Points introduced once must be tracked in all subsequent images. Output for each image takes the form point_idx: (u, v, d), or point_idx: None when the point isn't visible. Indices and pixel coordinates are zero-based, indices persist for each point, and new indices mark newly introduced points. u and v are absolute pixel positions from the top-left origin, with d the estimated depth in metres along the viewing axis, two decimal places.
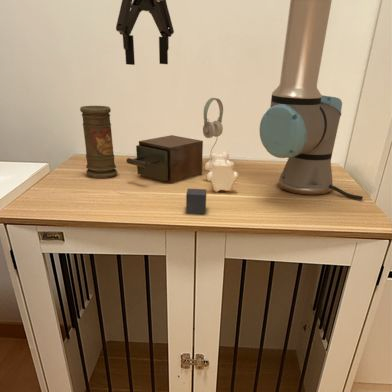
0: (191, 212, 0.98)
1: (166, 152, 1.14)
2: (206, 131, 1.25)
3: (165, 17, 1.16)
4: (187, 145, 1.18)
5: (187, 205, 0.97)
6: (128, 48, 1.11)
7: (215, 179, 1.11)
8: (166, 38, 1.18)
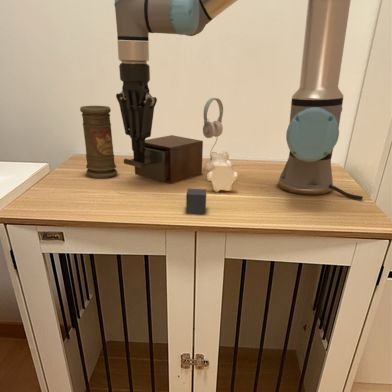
0: (191, 212, 0.98)
1: (163, 153, 1.13)
2: (206, 131, 1.25)
3: None
4: (187, 145, 1.18)
5: (187, 205, 0.97)
6: (133, 149, 1.14)
7: (215, 179, 1.11)
8: (135, 141, 1.11)
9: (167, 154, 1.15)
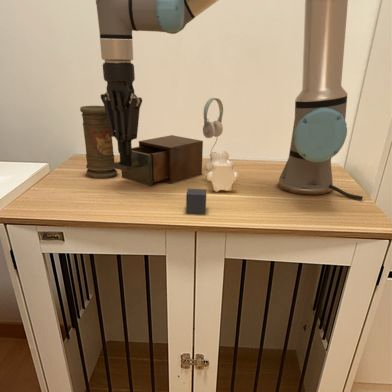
0: (191, 212, 0.98)
1: (150, 156, 1.10)
2: (206, 131, 1.25)
3: None
4: (187, 145, 1.18)
5: (187, 205, 0.97)
6: None
7: (215, 179, 1.11)
8: (121, 143, 1.07)
9: (154, 157, 1.12)
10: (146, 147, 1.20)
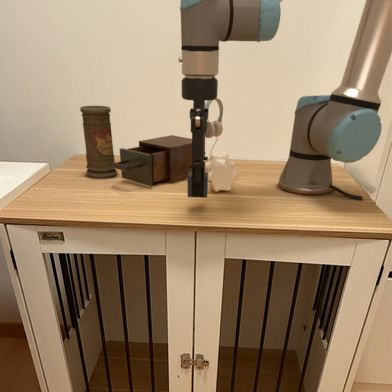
0: None
1: (150, 156, 1.10)
2: None
3: None
4: (187, 145, 1.18)
5: (188, 188, 0.95)
6: (200, 181, 0.93)
7: (215, 179, 1.11)
8: (204, 163, 0.96)
9: (154, 157, 1.12)
10: (146, 147, 1.20)
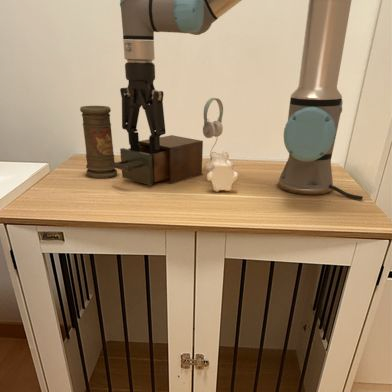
0: None
1: (150, 155, 1.10)
2: (206, 131, 1.25)
3: (129, 111, 1.12)
4: (187, 145, 1.18)
5: None
6: None
7: (215, 179, 1.11)
8: None
9: (154, 157, 1.12)
10: (147, 147, 1.20)
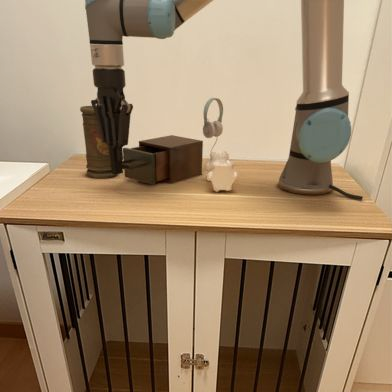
0: None
1: (153, 155, 1.11)
2: (206, 131, 1.25)
3: None
4: (187, 145, 1.18)
5: None
6: None
7: (215, 179, 1.11)
8: None
9: (157, 156, 1.13)
10: (149, 146, 1.21)
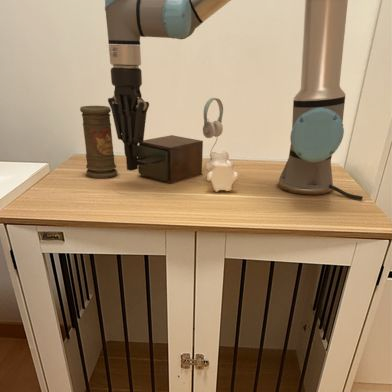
0: None
1: (167, 152, 1.14)
2: (206, 131, 1.25)
3: None
4: (187, 145, 1.18)
5: None
6: None
7: (215, 179, 1.11)
8: None
9: None
10: None
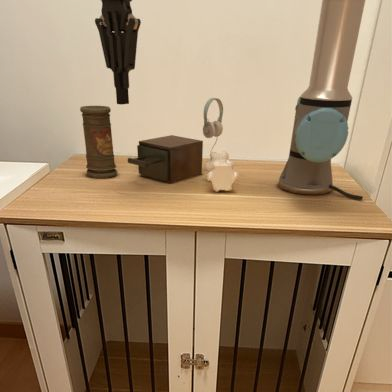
0: None
1: (167, 152, 1.14)
2: (206, 131, 1.25)
3: None
4: (187, 145, 1.18)
5: None
6: None
7: (215, 179, 1.11)
8: None
9: None
10: None
